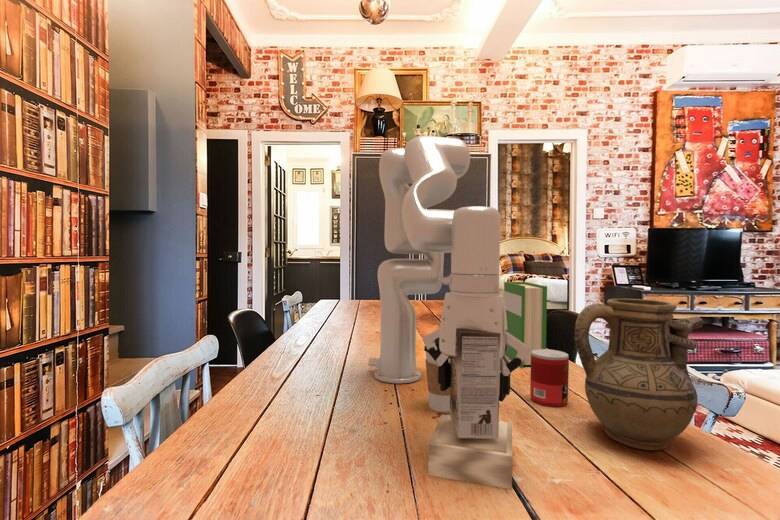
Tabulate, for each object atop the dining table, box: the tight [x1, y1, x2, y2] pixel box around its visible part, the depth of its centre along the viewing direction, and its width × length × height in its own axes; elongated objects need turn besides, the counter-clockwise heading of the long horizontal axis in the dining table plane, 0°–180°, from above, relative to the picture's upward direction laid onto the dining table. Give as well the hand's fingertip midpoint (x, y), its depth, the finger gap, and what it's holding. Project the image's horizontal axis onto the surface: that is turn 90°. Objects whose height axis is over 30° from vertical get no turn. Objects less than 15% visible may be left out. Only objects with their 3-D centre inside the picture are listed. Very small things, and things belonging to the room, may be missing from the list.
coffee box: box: [449, 328, 501, 439], centre depth 66 cm, size 9×6×16 cm
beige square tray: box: [427, 414, 513, 490], centre depth 66 cm, size 12×12×5 cm
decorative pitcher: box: [574, 298, 705, 451], centre depth 74 cm, size 22×18×25 cm
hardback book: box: [503, 281, 548, 369], centre depth 129 cm, size 18×7×24 cm, turn 1°
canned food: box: [529, 348, 570, 408], centre depth 93 cm, size 8×8×11 cm
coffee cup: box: [423, 338, 450, 413], centre depth 89 cm, size 8×8×15 cm
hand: (472, 393), depth 66 cm, fingers closed on coffee box, 8 cm apart
